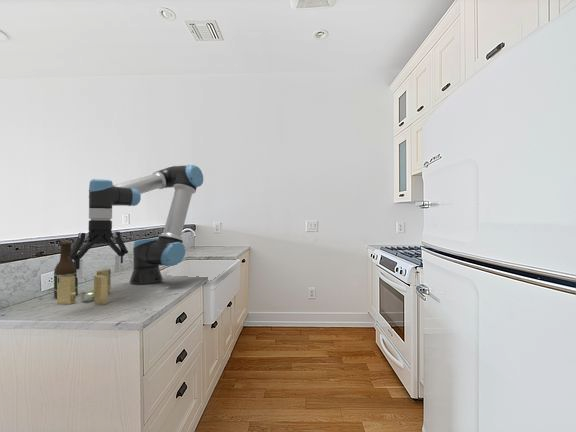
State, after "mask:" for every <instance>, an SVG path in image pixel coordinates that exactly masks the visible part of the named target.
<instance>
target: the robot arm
mask: <svg viewBox="0 0 576 432" xmlns="http://www.w3.org/2000/svg"><path fill="white" fill-rule="evenodd" d="M113 183H114V182H113V181H112V180H109V179H105V178H103V179H101V178H98V179H97V178H95V179H94V178H93V179H91V180H90V181H89V185H88V186H89V187H88V188H89V189H88V219H90V220H88V233H85V232H79V233H78V236H77V240H76V241H75V243H74V245H73V246H72V247H71V252H70V253H69V255H68V259H72V260H73V262H74V269H77V277H76V278H78V279H83V271H84V270H83V269H84V268H83V266H84V265H83V264H84V262H83V259H82V258H83V257H84V256H85V255H86V253H88V251H89V250H90V249H91V248H92V247H93V246H94V245H100V244H104V245H105V244H107V246H109V247H110V248H111V249H112V251H113V252H114V253H116V255H115V256H114V257H115V260H114V261H115V263H114V264H115V265H114V266H115V268H114V269H115V270H114V271H115V273H122V272H121V271H122V264H123V262H124V256H126V255H127V254H129V251H128V248H127V247H126V245H125V243H124V241H123V239H122V235H121V232H120V231H112V230H113V221H112V219H113V206H120V207H121V206H127V207H131V206H132V207H135V206H138V205H139V204H140V202H141V200H142V199H141V198H142V197H141V196H142V194H145V193H148V192H151V191H153V190H157V189H159V190H162V189H167V188H169V189H170V188H173V189H174V193H173V196H172V201H171V203H170V207H169V210H168V214H167V217H166V222H165V225H164V227H163V228H164V229H163V232H162V233H161V234H159V235H158V237H154V238H145V239H137V240H135V241H133V248H132V249H133V250H132V251H133V252H132V253H133V271H132V273H131V276H130V279H129V284H130V285H133V286H149V285H155V284H163V283H162V282H163V275H162V273H161V272H162V271H161V270H160V266H165V267H174V266H178V265H179V264H180V263H181V262H182V261H183V260H184V257H185V255H186V246H185V245H184V244H183V241H184V240H183V239H182V234H183V230H184V226H185V222H186V218H187V214H188V212H189V211H188V210H189V207H190V203H191V200H192V196H193V195H194V194H195V193H196V192H197V188H199V187H201V186H202V185H203V183H204V174H203V172H202V170H201V169H200V167H199V166H197V165H195V164H186V165H185V164H184V165H172V166H169V167H166V168H163V169H160V170H156V171H154V172H153V173H152V174H149V175H146V176H143V177H142V176H141V177H138V178H136V179H131V180H126V181H124V182H121V183H117V184H113ZM112 237H113V238H114V240H115V242H116V243H117V245H116V243H114V240H112V239H111V238H112ZM87 238H88V240H87V241H86V243H85V239H87ZM83 243H85V244H84V245H83Z"/></svg>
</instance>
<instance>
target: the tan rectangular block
mask: <svg viewBox="0 0 576 432" xmlns="http://www.w3.org/2000/svg"><path fill="white" fill-rule="evenodd" d="M75 303H76V296H75V276H72V275H61V276H57V299H56V304H58V305H59V304H60V305H62V304H63V305H72V304H75Z"/></svg>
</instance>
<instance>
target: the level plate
mask: <svg viewBox="0 0 576 432" xmlns="http://www.w3.org/2000/svg"><path fill="white" fill-rule="evenodd" d="M80 303H84V304H89V303H94V288H93V289H86V290H84V291H82V292H80Z"/></svg>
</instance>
